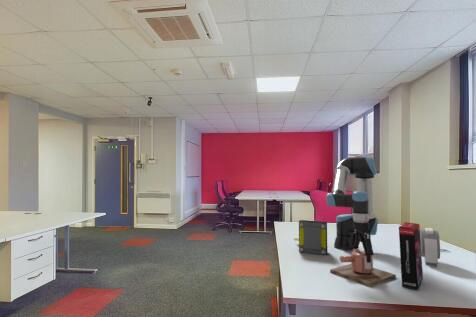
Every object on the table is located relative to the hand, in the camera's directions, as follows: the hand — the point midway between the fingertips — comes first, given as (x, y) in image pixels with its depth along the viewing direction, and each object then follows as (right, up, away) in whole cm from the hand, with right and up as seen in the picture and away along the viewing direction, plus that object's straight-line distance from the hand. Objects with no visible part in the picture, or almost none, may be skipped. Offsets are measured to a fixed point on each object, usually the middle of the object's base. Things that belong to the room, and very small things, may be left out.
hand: (361, 264), depth 136 cm
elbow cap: (-3, -2, 0) cm, 4 cm away
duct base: (0, -5, 0) cm, 5 cm away
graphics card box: (+19, -5, -11) cm, 22 cm away
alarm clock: (+49, -7, +19) cm, 53 cm away
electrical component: (-13, -8, +41) cm, 44 cm away
